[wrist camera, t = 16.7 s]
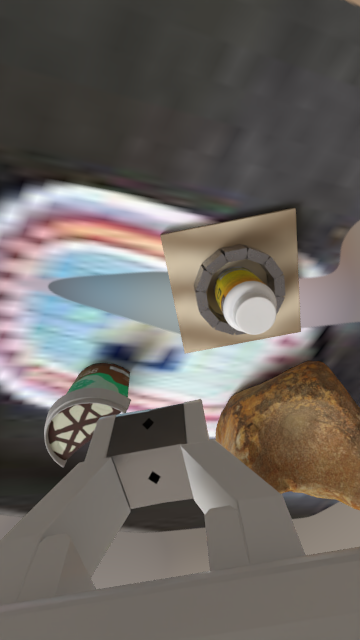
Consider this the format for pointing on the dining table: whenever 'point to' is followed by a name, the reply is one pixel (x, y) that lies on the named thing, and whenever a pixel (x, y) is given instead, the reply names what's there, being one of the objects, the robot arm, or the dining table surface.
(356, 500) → the rough brown rock
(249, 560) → the robot arm
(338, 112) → the dining table surface
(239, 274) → the supplement bottle
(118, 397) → the food container
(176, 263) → the birch board
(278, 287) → the grey segmented ring
